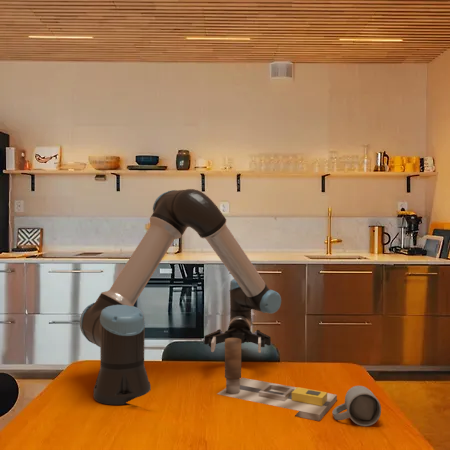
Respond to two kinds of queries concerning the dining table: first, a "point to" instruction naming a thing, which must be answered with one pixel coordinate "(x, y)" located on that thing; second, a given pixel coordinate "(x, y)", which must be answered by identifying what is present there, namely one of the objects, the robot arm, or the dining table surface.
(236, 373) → the brown tall rounded piece
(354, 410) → the ceramic mug
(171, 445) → the dining table surface
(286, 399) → the subfloor panel
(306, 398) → the block
